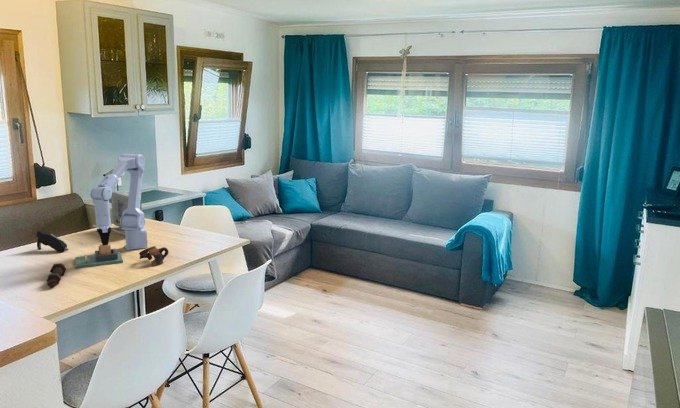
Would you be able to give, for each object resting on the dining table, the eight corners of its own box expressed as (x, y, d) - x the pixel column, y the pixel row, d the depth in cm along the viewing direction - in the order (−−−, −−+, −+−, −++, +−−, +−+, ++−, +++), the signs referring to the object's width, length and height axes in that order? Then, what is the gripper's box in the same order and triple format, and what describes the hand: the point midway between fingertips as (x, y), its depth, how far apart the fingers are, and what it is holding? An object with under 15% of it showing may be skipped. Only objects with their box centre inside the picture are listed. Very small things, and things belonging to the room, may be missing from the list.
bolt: (50, 293, 189) (57, 278, 202) (63, 285, 190) (69, 271, 203) (40, 281, 187) (48, 267, 200) (52, 273, 187) (59, 260, 201)
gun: (59, 263, 232) (66, 246, 229) (30, 246, 233) (37, 228, 230) (64, 262, 235) (71, 244, 232) (35, 244, 236) (42, 226, 233)
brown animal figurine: (146, 269, 212) (138, 251, 212) (143, 272, 220) (135, 255, 220) (173, 257, 218) (165, 240, 219) (170, 261, 226) (162, 244, 227)
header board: (120, 254, 229) (119, 246, 229) (122, 262, 218) (122, 254, 217) (75, 259, 221) (74, 251, 220) (76, 268, 210) (75, 260, 209)
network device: (147, 234, 262) (145, 196, 258) (131, 237, 255) (128, 199, 251) (124, 225, 278) (121, 189, 274) (108, 228, 272) (105, 192, 268)
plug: (110, 255, 223) (109, 242, 222) (111, 258, 220) (110, 245, 219) (99, 257, 221) (98, 244, 220) (99, 260, 218) (98, 246, 217)
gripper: (91, 211, 221) (94, 241, 224) (93, 218, 209) (96, 250, 212) (109, 210, 224) (111, 239, 227) (111, 217, 212) (114, 248, 215)
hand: (105, 244), depth 220 cm, fingers closed, pressing on plug
